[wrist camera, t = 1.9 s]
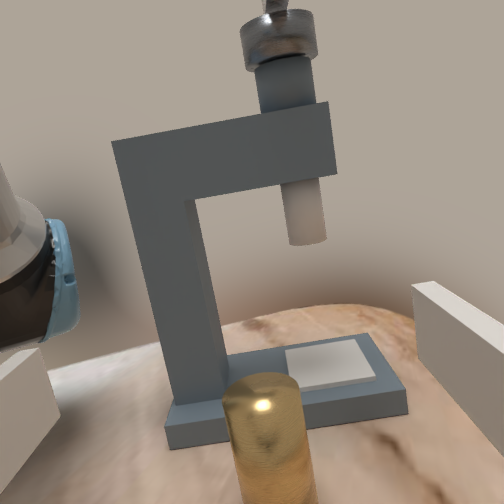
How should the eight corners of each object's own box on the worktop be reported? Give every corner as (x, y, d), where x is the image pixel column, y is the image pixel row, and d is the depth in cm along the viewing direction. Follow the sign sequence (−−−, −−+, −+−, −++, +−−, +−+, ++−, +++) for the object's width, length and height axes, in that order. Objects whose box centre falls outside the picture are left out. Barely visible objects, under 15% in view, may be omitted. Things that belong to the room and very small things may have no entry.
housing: (235, 540, 27) (206, 410, 24) (269, 483, 31) (247, 368, 28) (304, 568, 24) (278, 426, 22) (331, 502, 28) (311, 377, 26)
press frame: (170, 450, 36) (77, 86, 30) (190, 380, 48) (127, 108, 41) (408, 413, 36) (369, 29, 29) (369, 351, 47) (335, 68, 40)
